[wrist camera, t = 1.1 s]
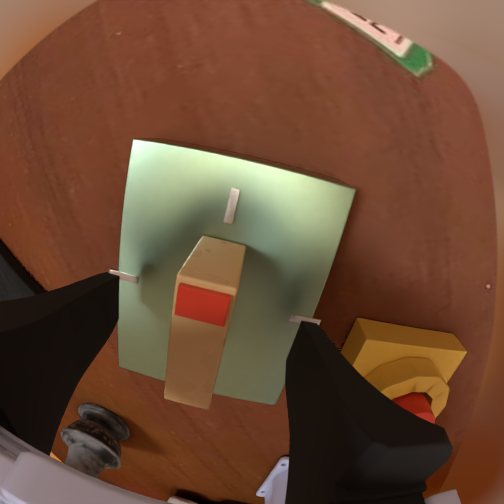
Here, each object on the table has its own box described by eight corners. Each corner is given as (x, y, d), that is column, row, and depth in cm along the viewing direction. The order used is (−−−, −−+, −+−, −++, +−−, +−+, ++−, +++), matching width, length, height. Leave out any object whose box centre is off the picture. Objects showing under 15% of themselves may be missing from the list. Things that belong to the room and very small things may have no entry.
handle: (221, 351, 14) (207, 415, 10) (184, 342, 14) (161, 403, 10) (246, 245, 12) (237, 293, 8) (202, 234, 12) (173, 278, 8)
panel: (280, 371, 18) (281, 408, 15) (131, 335, 18) (111, 366, 15) (345, 181, 14) (366, 192, 11) (151, 137, 13) (123, 136, 10)
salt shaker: (69, 413, 22) (19, 503, 11) (87, 392, 20) (26, 502, 9) (118, 446, 23) (81, 540, 12) (143, 430, 21) (104, 545, 10)
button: (406, 428, 15) (414, 448, 14) (361, 429, 15) (366, 451, 13) (436, 391, 14) (446, 411, 12) (389, 390, 14) (399, 413, 12)
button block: (389, 427, 20) (400, 463, 16) (301, 422, 20) (304, 465, 16) (453, 333, 17) (480, 368, 13) (356, 317, 16) (376, 361, 13)
